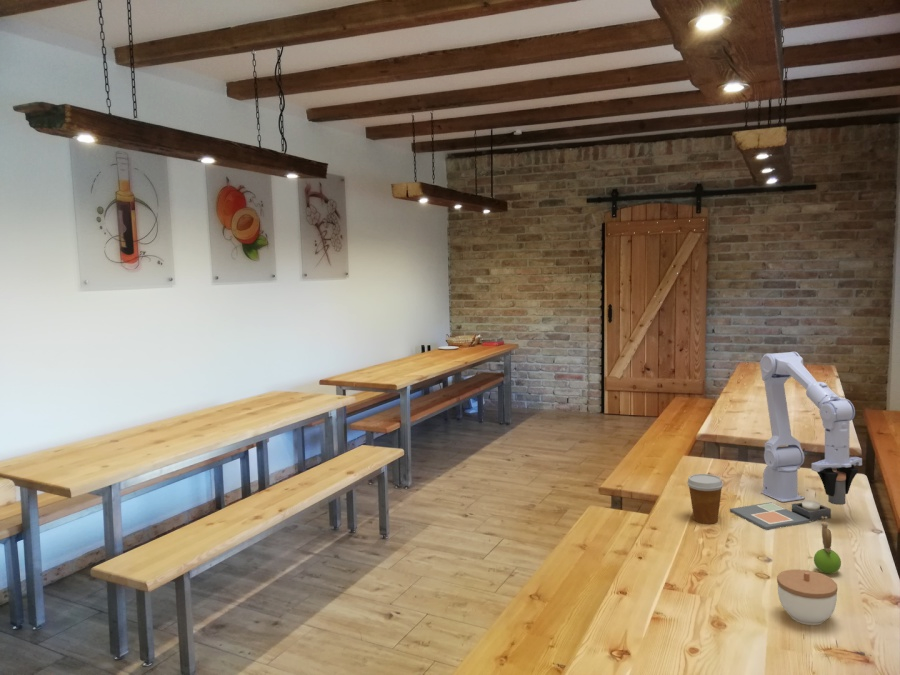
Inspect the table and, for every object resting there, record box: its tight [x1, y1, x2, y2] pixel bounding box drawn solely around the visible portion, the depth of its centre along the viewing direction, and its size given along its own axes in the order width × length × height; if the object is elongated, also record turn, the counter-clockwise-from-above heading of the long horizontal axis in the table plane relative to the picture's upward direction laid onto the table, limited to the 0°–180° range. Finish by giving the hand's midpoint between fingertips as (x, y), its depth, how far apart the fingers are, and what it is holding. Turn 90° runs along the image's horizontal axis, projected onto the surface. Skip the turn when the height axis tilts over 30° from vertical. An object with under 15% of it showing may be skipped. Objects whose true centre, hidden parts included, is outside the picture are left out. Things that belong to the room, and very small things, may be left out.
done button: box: [801, 500, 821, 511], centre depth 187 cm, size 4×4×2 cm
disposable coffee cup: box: [686, 473, 724, 525], centre depth 188 cm, size 10×10×12 cm
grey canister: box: [827, 470, 847, 506], centre depth 180 cm, size 4×4×8 cm
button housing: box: [791, 502, 832, 522], centre depth 188 cm, size 7×7×3 cm
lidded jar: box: [776, 569, 838, 626], centre depth 135 cm, size 11×11×9 cm
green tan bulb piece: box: [813, 516, 842, 574], centre depth 154 cm, size 5×6×12 cm
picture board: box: [729, 501, 811, 531], centre depth 188 cm, size 15×14×1 cm
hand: (836, 494), depth 181 cm, fingers closed on grey canister, 4 cm apart
